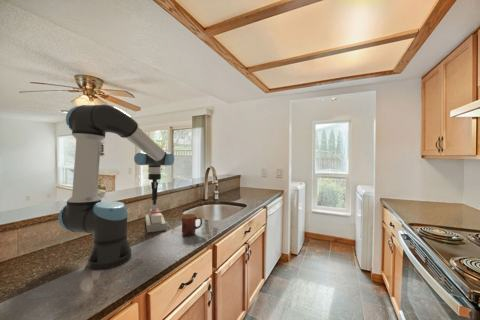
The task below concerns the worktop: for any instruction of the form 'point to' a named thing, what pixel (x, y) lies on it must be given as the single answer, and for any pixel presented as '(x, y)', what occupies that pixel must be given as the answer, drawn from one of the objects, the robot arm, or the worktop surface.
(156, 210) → the red key
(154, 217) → the white key
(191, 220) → the mug
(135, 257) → the worktop surface
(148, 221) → the key panel
